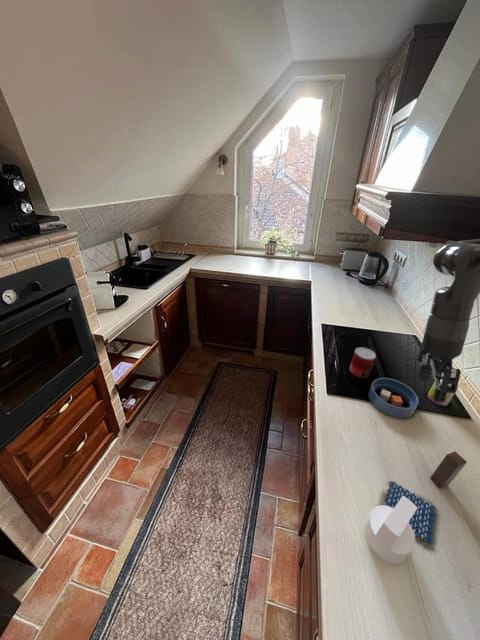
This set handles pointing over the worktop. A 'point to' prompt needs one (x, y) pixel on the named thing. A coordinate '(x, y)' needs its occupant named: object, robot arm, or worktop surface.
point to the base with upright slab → (391, 531)
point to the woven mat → (424, 512)
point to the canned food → (362, 362)
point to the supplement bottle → (448, 397)
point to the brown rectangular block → (448, 469)
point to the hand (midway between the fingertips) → (430, 389)
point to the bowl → (397, 388)
